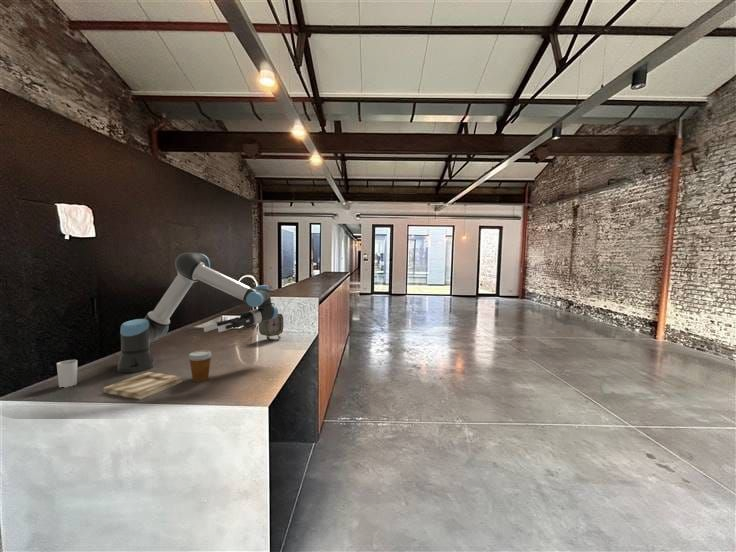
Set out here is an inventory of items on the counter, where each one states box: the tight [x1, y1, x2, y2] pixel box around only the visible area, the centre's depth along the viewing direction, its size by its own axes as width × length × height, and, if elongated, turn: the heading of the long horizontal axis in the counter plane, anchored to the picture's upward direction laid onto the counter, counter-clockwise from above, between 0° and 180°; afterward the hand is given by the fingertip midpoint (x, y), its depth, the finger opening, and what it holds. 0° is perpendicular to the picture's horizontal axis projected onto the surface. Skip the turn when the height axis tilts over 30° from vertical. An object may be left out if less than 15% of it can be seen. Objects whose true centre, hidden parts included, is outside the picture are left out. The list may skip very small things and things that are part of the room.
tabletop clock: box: [258, 302, 284, 343], centre depth 227 cm, size 14×9×25 cm, turn 147°
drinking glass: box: [56, 359, 78, 388], centre depth 145 cm, size 7×7×10 cm
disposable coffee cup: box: [188, 350, 213, 382], centre depth 153 cm, size 10×10×12 cm
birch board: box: [103, 371, 184, 400], centre depth 144 cm, size 20×20×2 cm
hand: (211, 329), depth 160 cm, fingers open, 13 cm apart
